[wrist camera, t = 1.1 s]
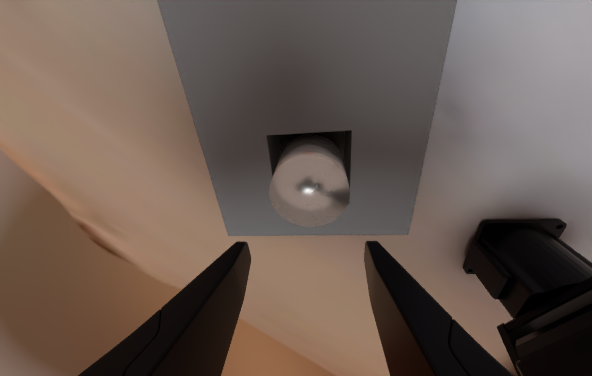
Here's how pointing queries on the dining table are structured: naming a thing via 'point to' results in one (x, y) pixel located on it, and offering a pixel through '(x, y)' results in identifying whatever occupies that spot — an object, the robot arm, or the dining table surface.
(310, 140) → the grey rounded piece
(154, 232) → the dining table surface
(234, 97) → the press block
